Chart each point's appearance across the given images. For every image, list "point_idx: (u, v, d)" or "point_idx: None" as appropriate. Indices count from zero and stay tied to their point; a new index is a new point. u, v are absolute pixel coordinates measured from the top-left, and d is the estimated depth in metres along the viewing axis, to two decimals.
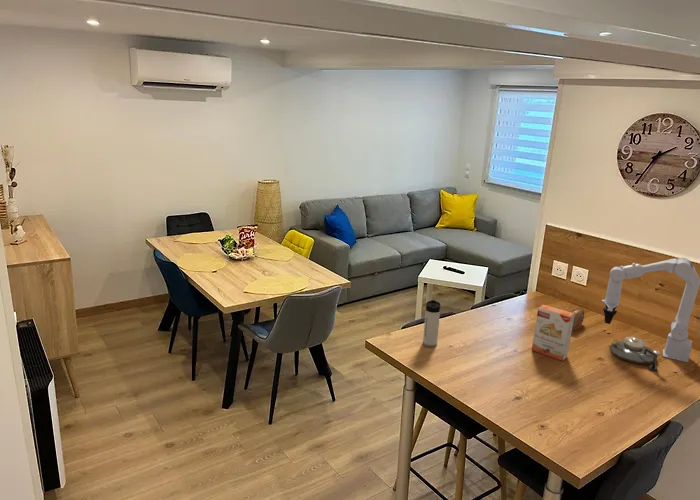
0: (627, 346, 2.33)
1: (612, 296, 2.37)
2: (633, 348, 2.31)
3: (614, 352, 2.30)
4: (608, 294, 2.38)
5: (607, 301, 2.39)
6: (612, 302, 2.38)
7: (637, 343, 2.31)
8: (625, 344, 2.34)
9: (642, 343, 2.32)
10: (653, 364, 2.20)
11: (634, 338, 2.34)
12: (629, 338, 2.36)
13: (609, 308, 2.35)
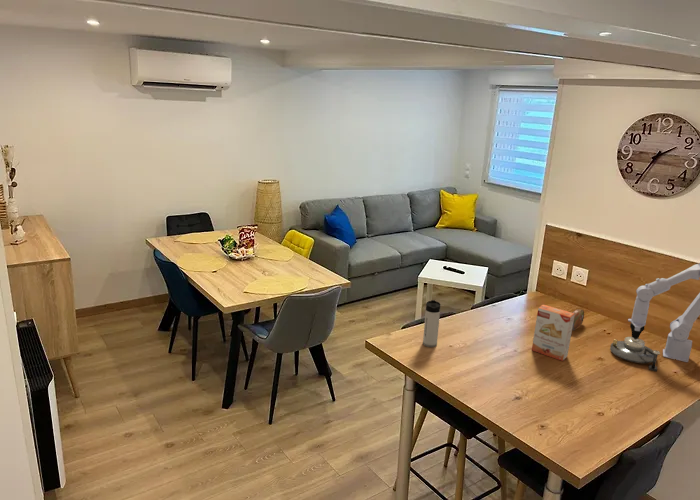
0: (627, 346, 2.33)
1: (639, 315, 2.33)
2: (633, 348, 2.31)
3: (614, 352, 2.30)
4: (635, 313, 2.34)
5: (634, 320, 2.35)
6: (639, 322, 2.33)
7: (637, 343, 2.31)
8: (625, 344, 2.34)
9: (642, 343, 2.31)
10: (653, 364, 2.20)
11: (634, 338, 2.34)
12: (629, 338, 2.36)
13: (636, 328, 2.30)
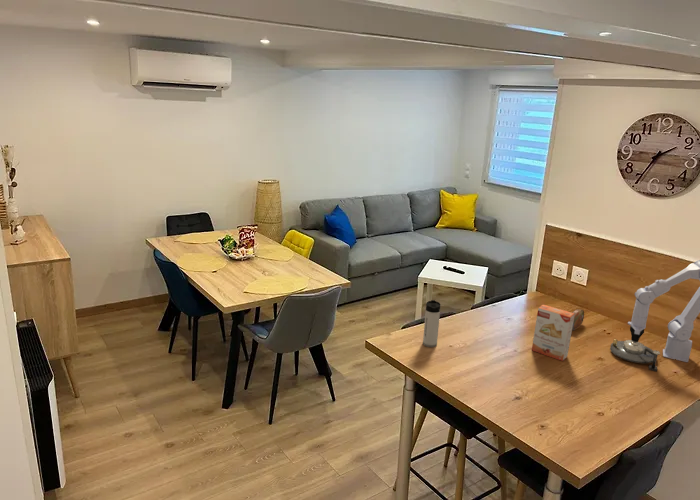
0: (626, 350, 2.30)
1: (639, 319, 2.29)
2: (632, 352, 2.28)
3: (614, 352, 2.30)
4: (635, 316, 2.31)
5: (633, 324, 2.31)
6: (639, 325, 2.30)
7: (636, 347, 2.28)
8: (624, 347, 2.31)
9: (642, 347, 2.28)
10: (653, 364, 2.20)
11: (634, 342, 2.30)
12: (629, 341, 2.33)
13: (636, 331, 2.27)
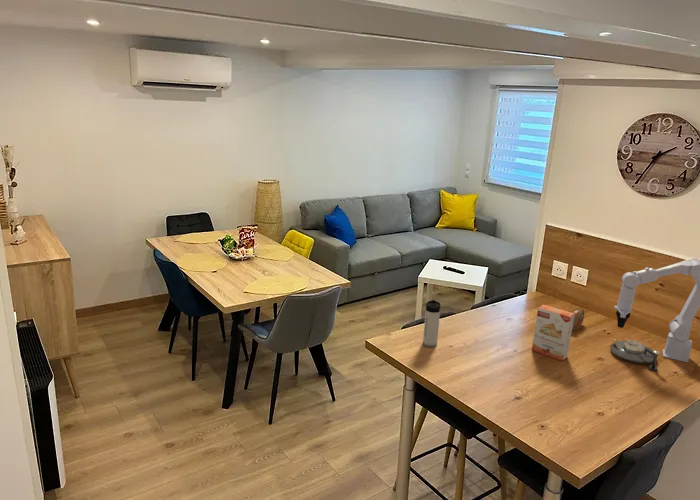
0: (626, 350, 2.30)
1: (625, 302, 2.32)
2: (632, 352, 2.28)
3: (614, 352, 2.30)
4: (621, 300, 2.33)
5: (620, 307, 2.34)
6: (625, 308, 2.32)
7: (636, 347, 2.28)
8: (624, 347, 2.31)
9: (642, 347, 2.28)
10: (653, 364, 2.20)
11: (633, 342, 2.30)
12: (629, 341, 2.33)
13: (622, 315, 2.29)
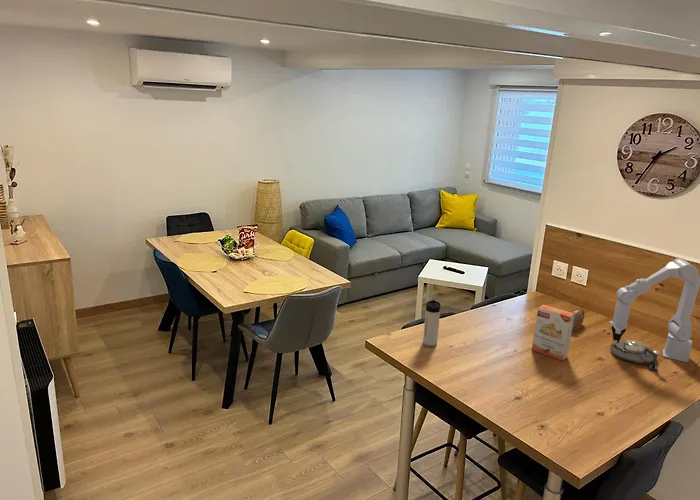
0: (627, 350, 2.30)
1: (620, 318, 2.29)
2: (633, 352, 2.28)
3: (615, 353, 2.29)
4: (616, 316, 2.30)
5: (615, 323, 2.31)
6: (620, 324, 2.30)
7: (637, 347, 2.28)
8: (625, 348, 2.31)
9: (642, 347, 2.28)
10: (653, 364, 2.20)
11: (634, 342, 2.30)
12: (628, 342, 2.32)
13: (617, 331, 2.27)
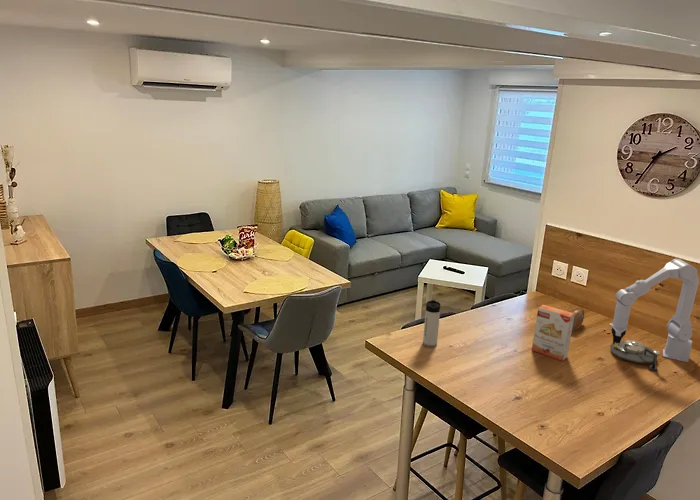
0: (630, 351, 2.28)
1: (620, 320, 2.27)
2: (636, 352, 2.27)
3: (621, 356, 2.27)
4: (616, 318, 2.29)
5: (615, 325, 2.29)
6: (620, 326, 2.28)
7: (639, 347, 2.28)
8: (627, 349, 2.29)
9: (643, 346, 2.29)
10: (653, 364, 2.20)
11: (634, 342, 2.30)
12: (628, 342, 2.32)
13: (617, 333, 2.25)
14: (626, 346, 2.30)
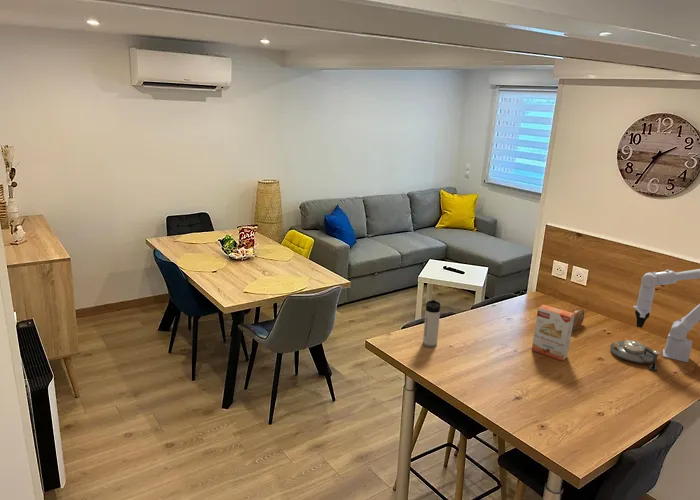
0: (630, 351, 2.28)
1: (644, 302, 2.33)
2: (636, 352, 2.27)
3: (621, 356, 2.27)
4: (640, 300, 2.34)
5: (639, 307, 2.35)
6: (644, 308, 2.34)
7: (639, 347, 2.28)
8: (627, 349, 2.29)
9: (643, 346, 2.29)
10: (653, 364, 2.20)
11: (634, 342, 2.30)
12: (628, 342, 2.32)
13: (641, 315, 2.31)
14: (626, 346, 2.30)
